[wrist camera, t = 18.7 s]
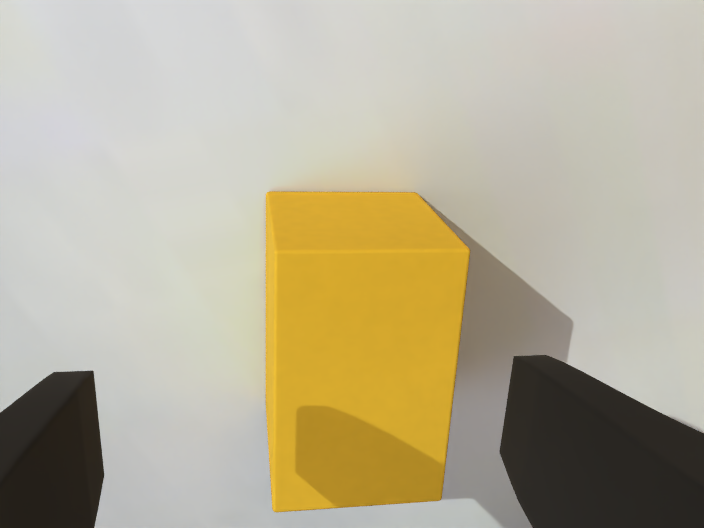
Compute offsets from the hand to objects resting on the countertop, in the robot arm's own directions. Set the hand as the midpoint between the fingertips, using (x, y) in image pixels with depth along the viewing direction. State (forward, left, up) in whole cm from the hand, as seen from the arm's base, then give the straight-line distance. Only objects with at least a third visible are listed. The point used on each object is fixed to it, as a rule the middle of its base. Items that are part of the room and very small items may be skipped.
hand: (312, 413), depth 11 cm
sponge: (-2, +2, -9) cm, 9 cm away
